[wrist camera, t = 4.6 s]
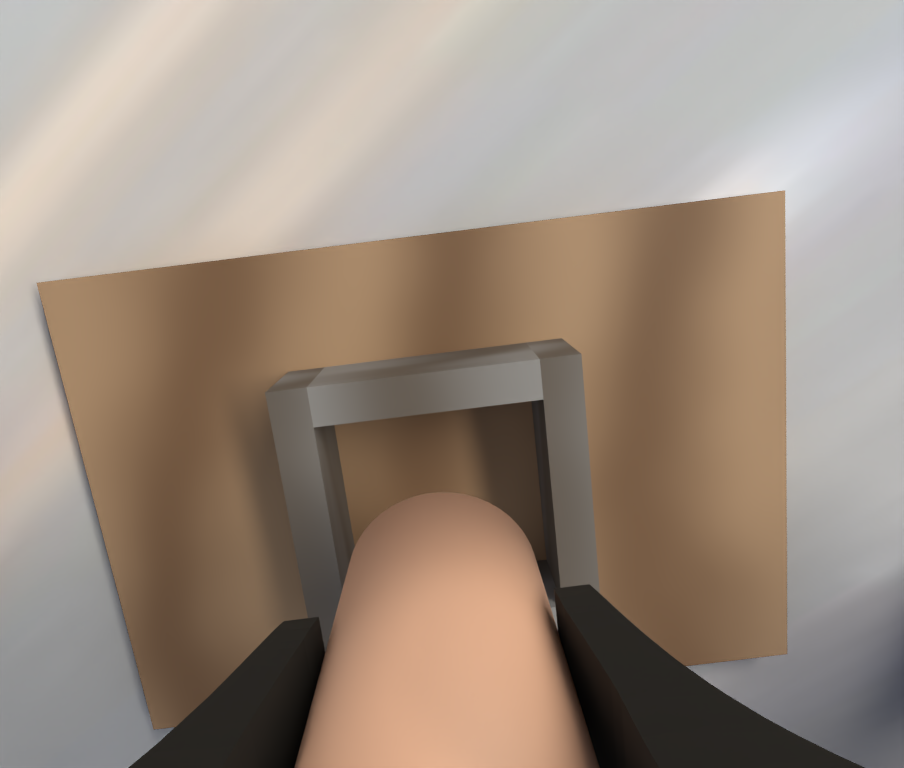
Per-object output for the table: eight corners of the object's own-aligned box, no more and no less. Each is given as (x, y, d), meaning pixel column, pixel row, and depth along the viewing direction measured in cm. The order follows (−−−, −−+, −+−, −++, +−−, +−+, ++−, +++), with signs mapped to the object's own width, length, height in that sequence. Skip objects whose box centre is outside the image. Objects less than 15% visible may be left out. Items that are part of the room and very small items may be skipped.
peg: (523, 477, 13) (618, 742, 6) (549, 648, 14) (656, 1043, 7) (329, 509, 13) (214, 804, 6) (368, 677, 14) (301, 1095, 7)
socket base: (766, 193, 18) (843, 182, 15) (771, 634, 21) (835, 711, 18) (58, 280, 18) (-31, 290, 15) (166, 706, 21) (114, 796, 18)
